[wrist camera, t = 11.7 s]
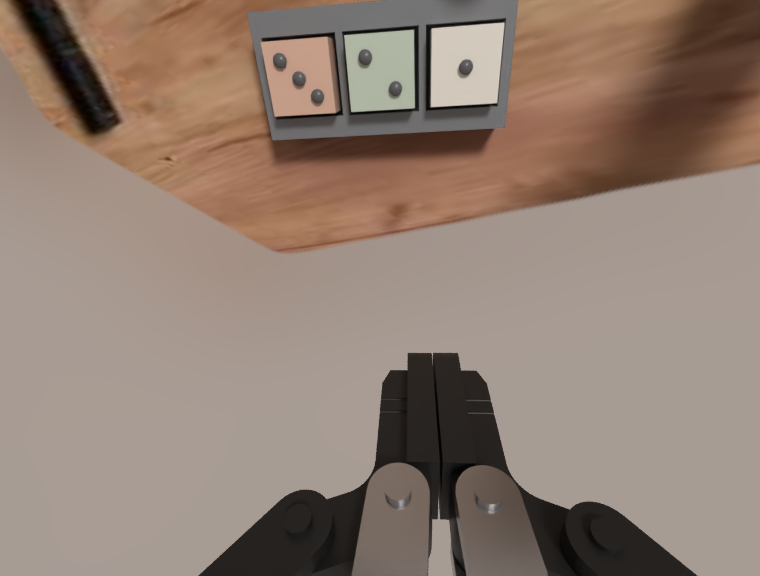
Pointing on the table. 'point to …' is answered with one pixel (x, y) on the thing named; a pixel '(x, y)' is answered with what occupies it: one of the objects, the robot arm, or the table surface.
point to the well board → (419, 13)
